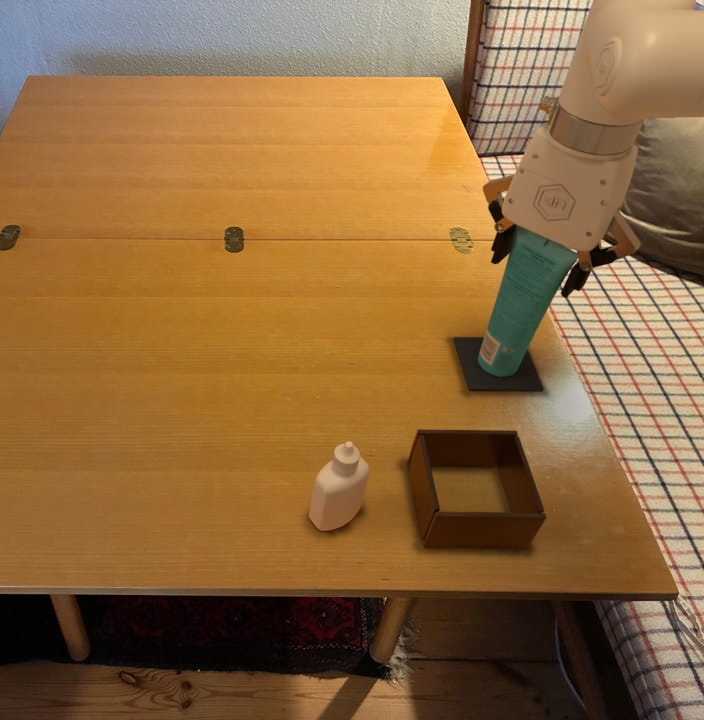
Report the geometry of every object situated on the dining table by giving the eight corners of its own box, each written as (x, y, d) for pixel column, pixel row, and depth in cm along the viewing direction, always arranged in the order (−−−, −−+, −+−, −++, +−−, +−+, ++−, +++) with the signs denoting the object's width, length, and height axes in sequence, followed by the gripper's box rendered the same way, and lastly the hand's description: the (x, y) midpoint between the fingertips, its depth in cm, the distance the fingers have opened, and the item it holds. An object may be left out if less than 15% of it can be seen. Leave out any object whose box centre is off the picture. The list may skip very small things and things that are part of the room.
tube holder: (500, 463, 77) (517, 430, 73) (527, 548, 70) (547, 517, 65) (406, 462, 77) (417, 429, 73) (423, 547, 70) (436, 515, 66)
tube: (533, 369, 86) (591, 243, 72) (513, 389, 84) (569, 264, 70) (481, 339, 90) (526, 214, 76) (460, 357, 88) (503, 232, 74)
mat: (522, 339, 91) (523, 337, 90) (543, 391, 84) (544, 389, 84) (453, 339, 91) (453, 336, 90) (468, 390, 84) (469, 388, 84)
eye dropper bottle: (305, 496, 74) (315, 426, 65) (357, 494, 74) (374, 424, 66) (310, 533, 71) (322, 465, 62) (364, 530, 71) (384, 462, 63)
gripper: (488, 109, 67) (446, 256, 79) (675, 176, 58) (595, 328, 71) (525, 83, 70) (480, 228, 83) (707, 143, 62) (625, 294, 75)
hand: (533, 273), depth 77 cm, fingers open, 7 cm apart
